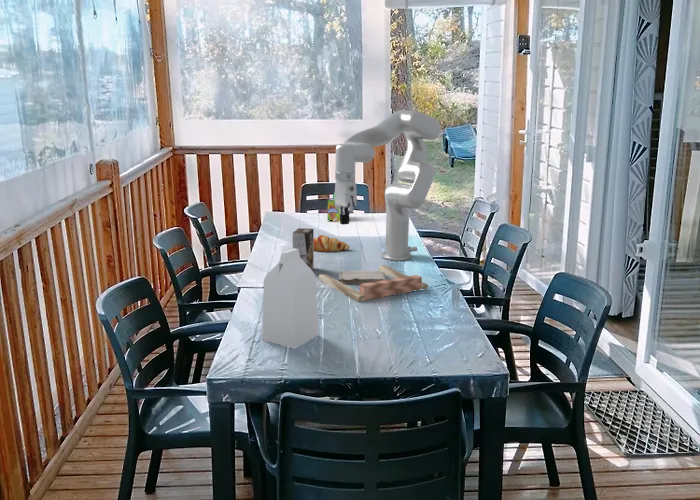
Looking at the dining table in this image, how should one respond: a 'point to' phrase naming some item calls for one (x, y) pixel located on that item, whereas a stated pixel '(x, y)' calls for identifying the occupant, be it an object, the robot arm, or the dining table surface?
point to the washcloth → (360, 277)
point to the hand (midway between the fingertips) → (344, 223)
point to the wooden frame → (378, 285)
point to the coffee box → (304, 245)
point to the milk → (290, 302)
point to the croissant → (328, 244)
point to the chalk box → (333, 210)
